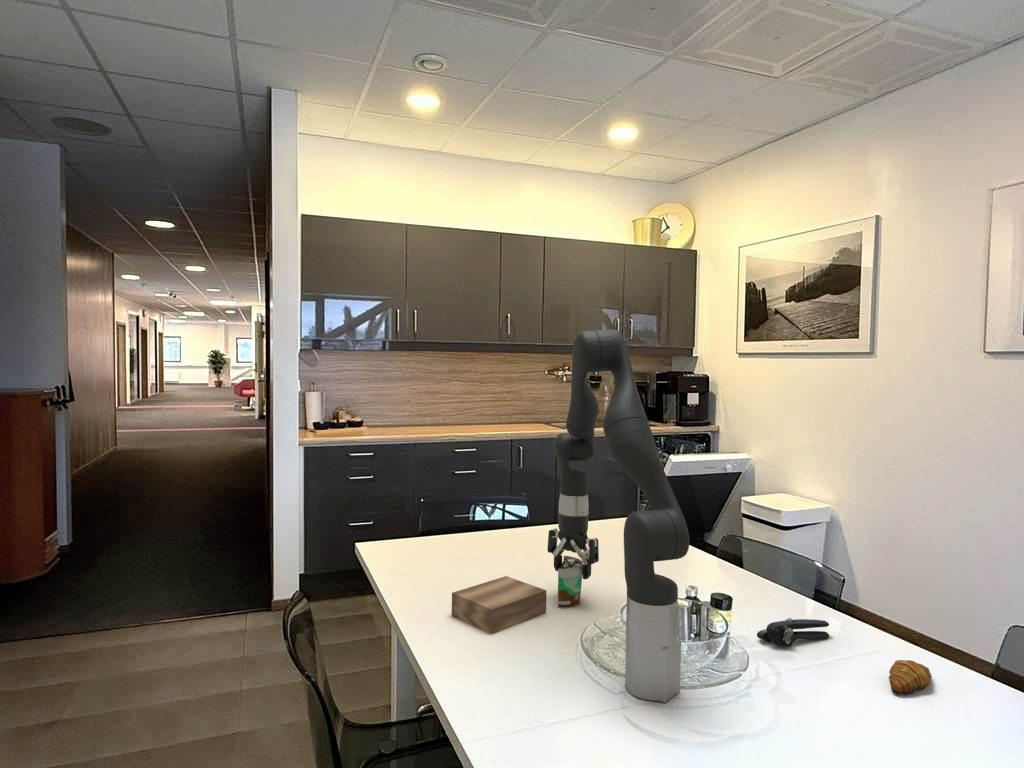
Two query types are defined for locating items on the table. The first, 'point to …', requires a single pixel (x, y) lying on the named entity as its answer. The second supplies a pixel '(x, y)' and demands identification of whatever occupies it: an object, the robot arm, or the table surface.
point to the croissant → (908, 677)
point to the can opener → (784, 634)
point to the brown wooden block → (498, 604)
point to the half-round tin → (569, 582)
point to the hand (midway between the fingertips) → (572, 574)
